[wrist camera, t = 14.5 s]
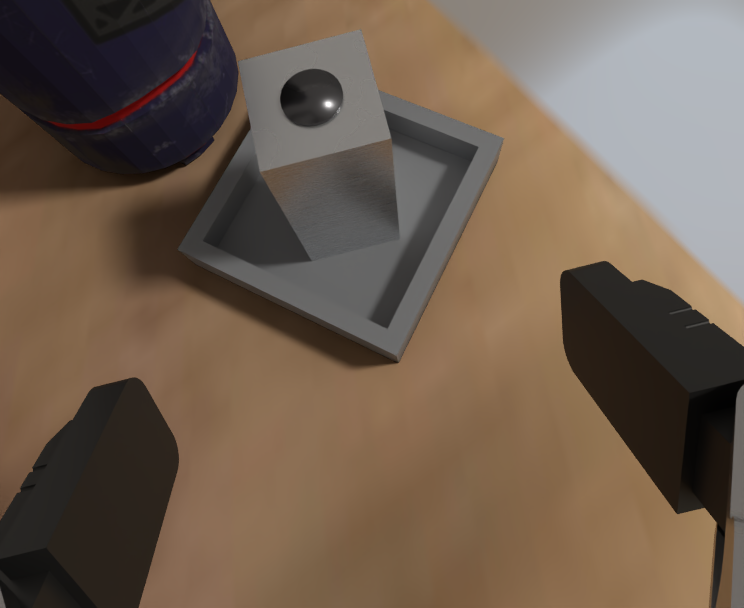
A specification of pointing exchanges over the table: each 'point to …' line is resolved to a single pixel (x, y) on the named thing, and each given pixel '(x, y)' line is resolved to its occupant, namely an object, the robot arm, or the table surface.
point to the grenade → (120, 77)
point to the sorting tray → (363, 266)
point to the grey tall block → (324, 143)
